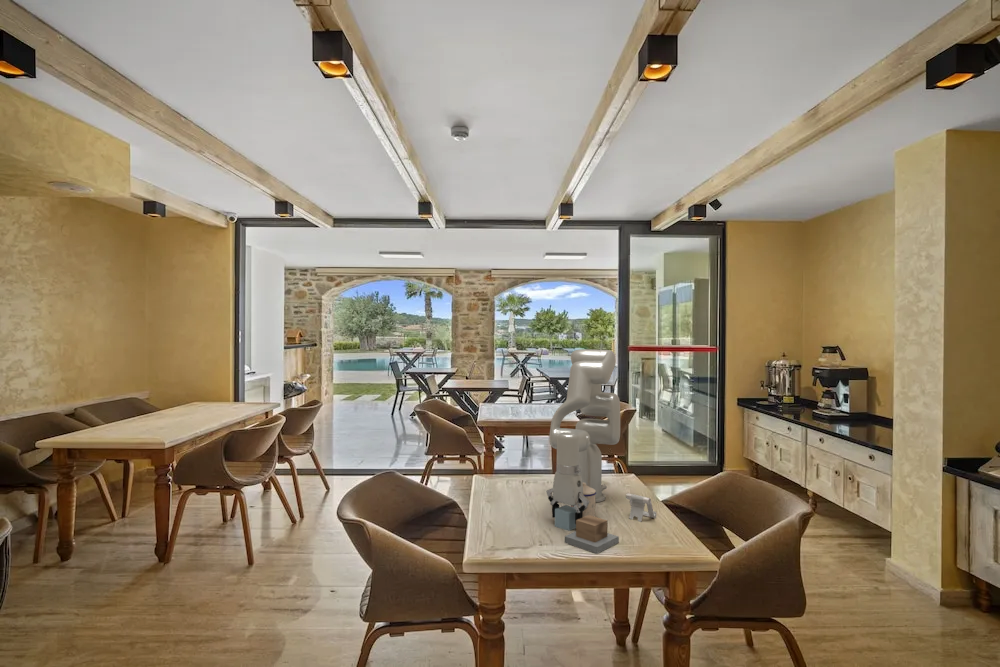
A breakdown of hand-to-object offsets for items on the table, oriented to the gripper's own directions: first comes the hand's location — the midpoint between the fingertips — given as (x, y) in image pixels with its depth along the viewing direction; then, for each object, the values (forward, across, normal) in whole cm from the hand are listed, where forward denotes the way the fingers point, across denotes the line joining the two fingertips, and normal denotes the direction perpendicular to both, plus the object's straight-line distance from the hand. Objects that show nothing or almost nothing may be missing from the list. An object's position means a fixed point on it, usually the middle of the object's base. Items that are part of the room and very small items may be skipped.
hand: (566, 520), depth 178 cm
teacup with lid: (+2, +2, -12) cm, 13 cm away
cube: (+2, 0, 0) cm, 2 cm away
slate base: (+2, -14, +6) cm, 15 cm away
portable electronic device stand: (+2, -13, -26) cm, 29 cm away
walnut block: (0, -14, +6) cm, 15 cm away
